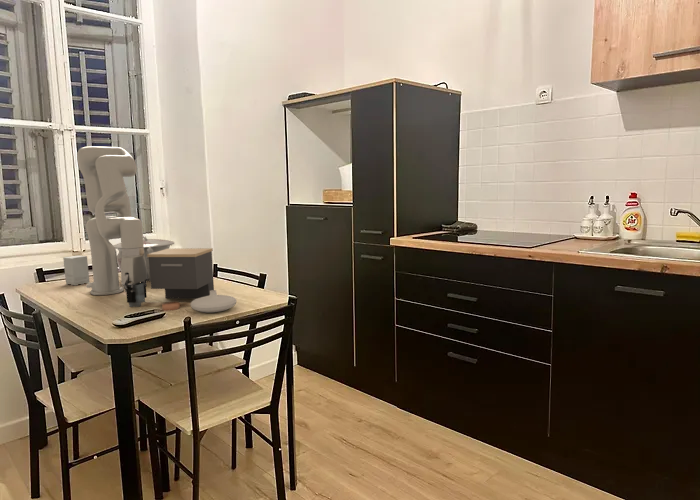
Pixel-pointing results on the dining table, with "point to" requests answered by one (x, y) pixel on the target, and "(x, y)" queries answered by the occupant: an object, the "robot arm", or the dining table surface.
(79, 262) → the supplement box
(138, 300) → the grey block with handle
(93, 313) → the dining table surface
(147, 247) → the chamber pot
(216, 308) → the grey domed lid
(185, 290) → the cabinet
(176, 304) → the coaster
